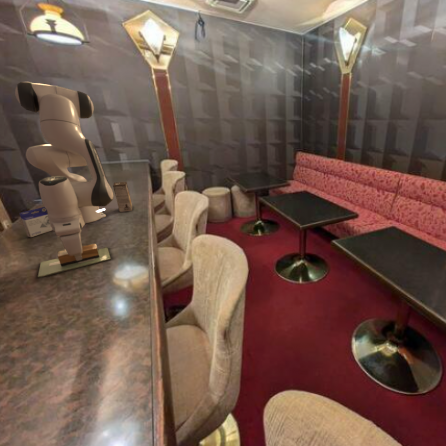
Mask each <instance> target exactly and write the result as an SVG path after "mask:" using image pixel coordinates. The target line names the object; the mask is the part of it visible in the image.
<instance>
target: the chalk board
mask: <svg viewBox="0 0 446 446" xmlns="http://www.w3.org/2000/svg"><path fill="white" fill-rule="evenodd" d="M97 249H98V253H99V257H98V258H94V259H90V260H85V261H81V262H77V263H73V264H69V265H65V266H61V264H60V261H59V259H58V257H57V258H53V259H49V260H43V261H40V263H39V270H38V275H37V278H43V277H44V278H45V277H47V276H51V275H55V274H60V273H63V272H67V271H71V270H75V269H80V268H83V267H87V266H91V265H95V264H99V263H104V262H108V261H111V260H112V258H111V255H110V252H109V248H108V247H103V248H97Z"/></svg>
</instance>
